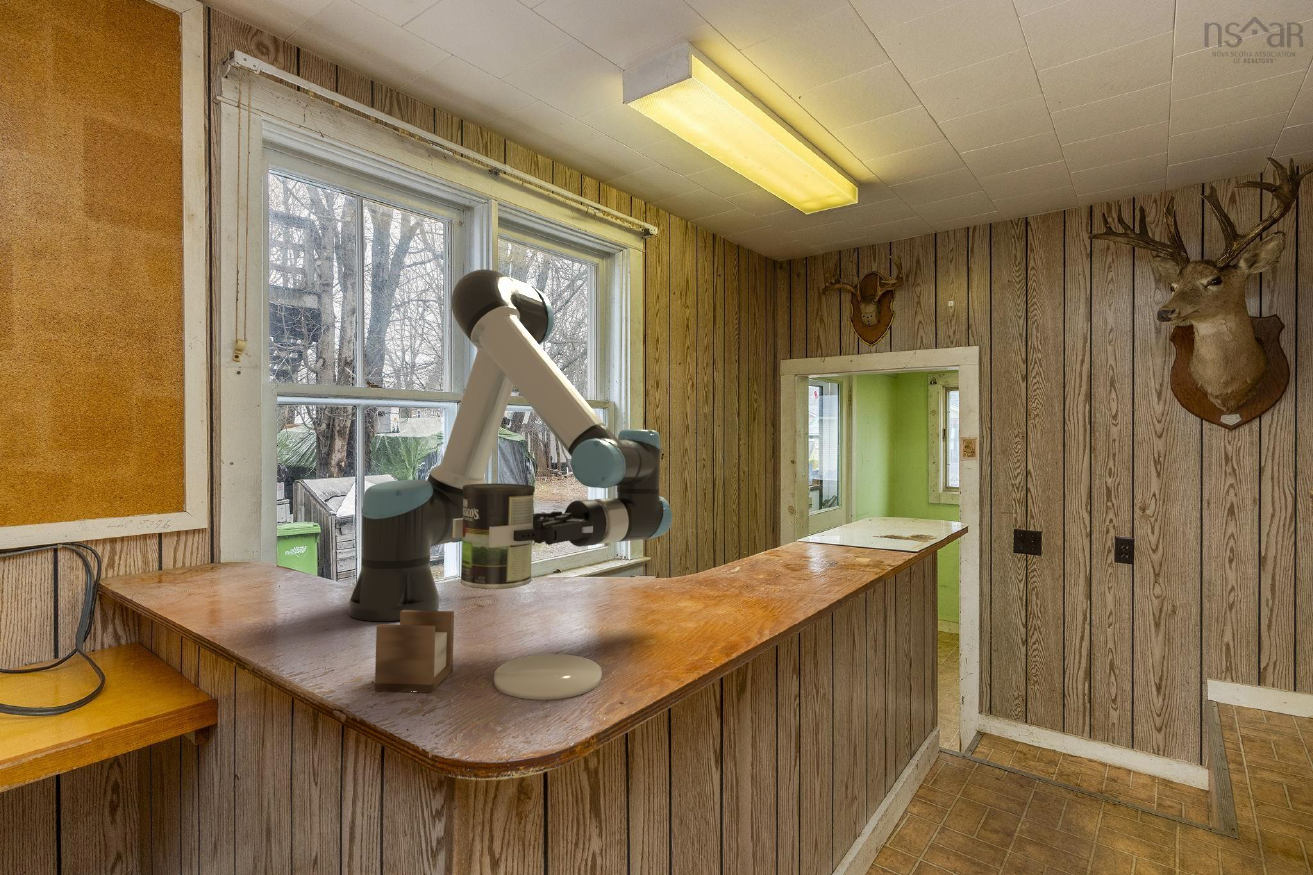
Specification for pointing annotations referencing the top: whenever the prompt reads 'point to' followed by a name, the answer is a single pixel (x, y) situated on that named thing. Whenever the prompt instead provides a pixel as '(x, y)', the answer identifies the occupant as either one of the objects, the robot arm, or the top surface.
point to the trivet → (547, 676)
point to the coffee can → (480, 513)
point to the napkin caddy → (414, 651)
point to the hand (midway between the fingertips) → (471, 532)
